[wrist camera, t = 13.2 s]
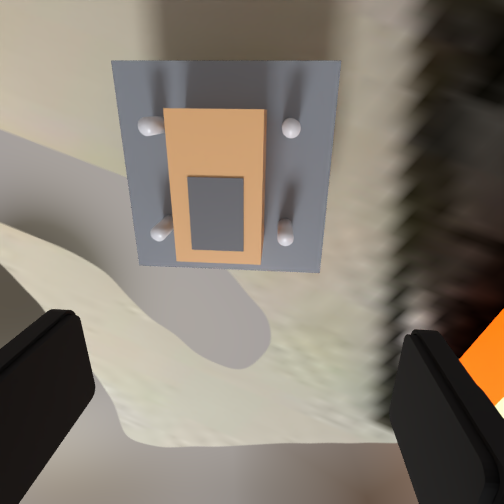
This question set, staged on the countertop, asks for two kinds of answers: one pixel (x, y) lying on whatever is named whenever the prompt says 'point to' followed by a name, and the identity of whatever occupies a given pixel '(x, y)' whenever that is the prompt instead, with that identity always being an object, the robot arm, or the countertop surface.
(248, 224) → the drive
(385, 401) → the countertop surface
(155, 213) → the pin tray
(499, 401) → the orange juice
